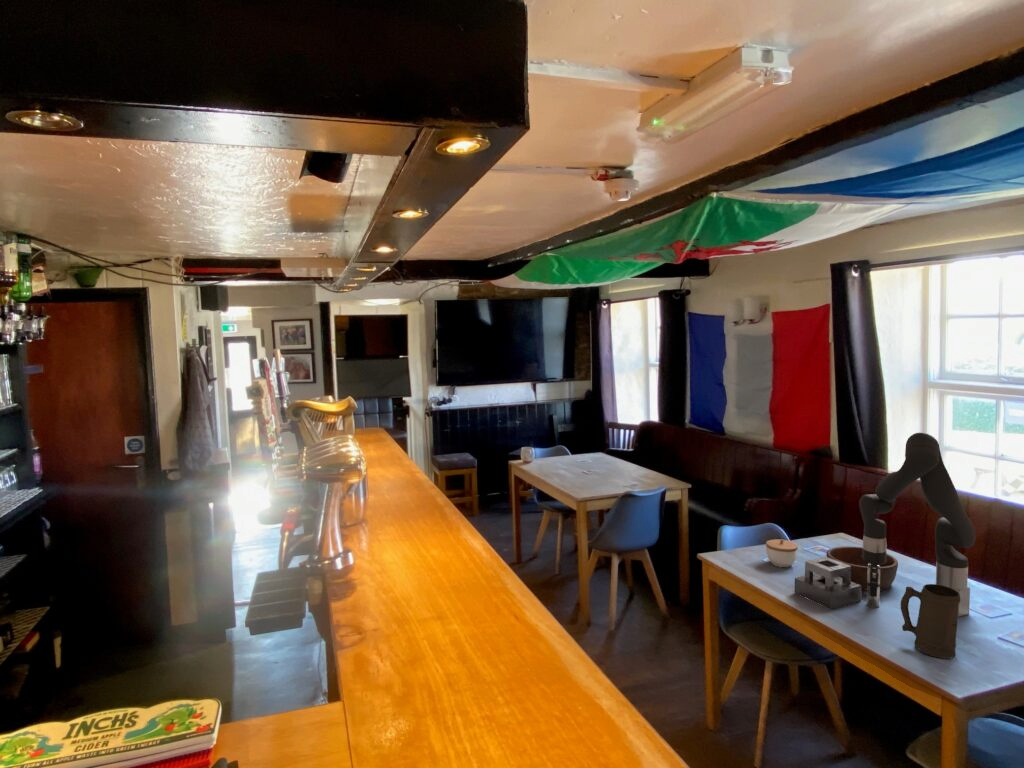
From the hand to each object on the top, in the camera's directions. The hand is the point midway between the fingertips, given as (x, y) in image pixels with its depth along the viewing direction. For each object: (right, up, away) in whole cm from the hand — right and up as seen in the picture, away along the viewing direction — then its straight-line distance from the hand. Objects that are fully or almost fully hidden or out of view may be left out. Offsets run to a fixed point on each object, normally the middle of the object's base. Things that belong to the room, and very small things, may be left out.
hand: (873, 593), depth 228 cm
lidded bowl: (-16, -2, +41) cm, 44 cm away
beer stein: (-1, -7, -32) cm, 32 cm away
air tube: (0, -4, 0) cm, 4 cm away
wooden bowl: (+8, -3, +22) cm, 24 cm away
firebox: (-13, -4, +8) cm, 16 cm away
